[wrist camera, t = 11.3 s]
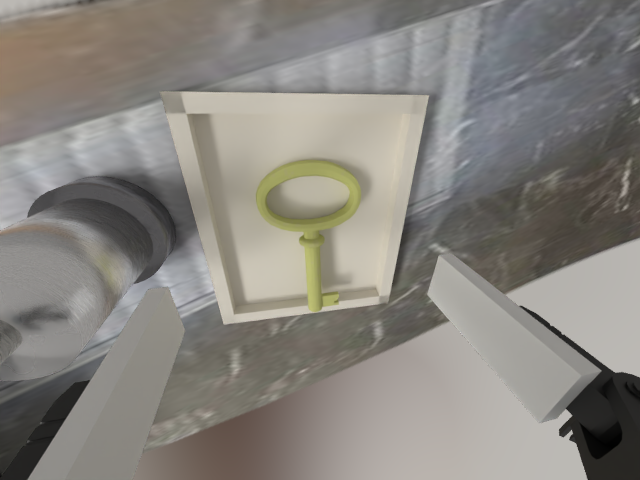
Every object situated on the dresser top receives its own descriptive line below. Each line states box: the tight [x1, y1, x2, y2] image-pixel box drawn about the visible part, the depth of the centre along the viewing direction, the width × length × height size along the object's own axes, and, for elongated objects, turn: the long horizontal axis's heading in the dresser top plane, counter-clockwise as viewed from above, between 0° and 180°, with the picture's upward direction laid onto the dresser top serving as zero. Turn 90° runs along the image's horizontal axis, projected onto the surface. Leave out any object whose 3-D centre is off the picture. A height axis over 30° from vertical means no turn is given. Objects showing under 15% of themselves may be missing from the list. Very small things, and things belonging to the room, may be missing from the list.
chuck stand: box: [0, 177, 176, 381], centre depth 11 cm, size 7×7×12 cm
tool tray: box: [160, 91, 429, 324], centre depth 18 cm, size 15×17×2 cm
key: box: [256, 160, 361, 312], centre depth 18 cm, size 7×12×2 cm, turn 20°
